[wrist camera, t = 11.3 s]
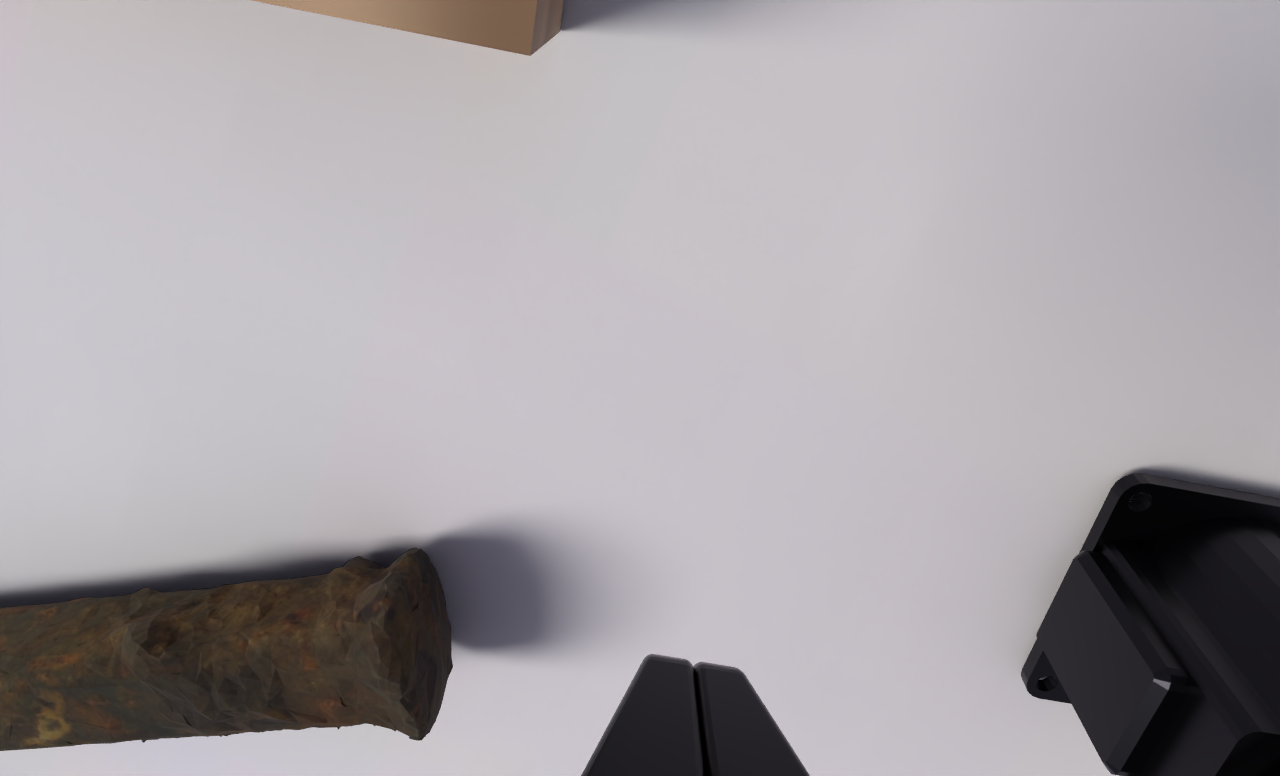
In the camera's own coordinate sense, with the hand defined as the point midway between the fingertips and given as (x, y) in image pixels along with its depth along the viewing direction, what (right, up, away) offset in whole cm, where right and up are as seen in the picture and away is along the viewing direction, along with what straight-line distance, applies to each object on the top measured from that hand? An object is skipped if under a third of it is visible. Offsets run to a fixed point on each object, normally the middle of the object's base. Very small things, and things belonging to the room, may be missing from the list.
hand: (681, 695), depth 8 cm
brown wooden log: (-14, -4, +16) cm, 22 cm away
